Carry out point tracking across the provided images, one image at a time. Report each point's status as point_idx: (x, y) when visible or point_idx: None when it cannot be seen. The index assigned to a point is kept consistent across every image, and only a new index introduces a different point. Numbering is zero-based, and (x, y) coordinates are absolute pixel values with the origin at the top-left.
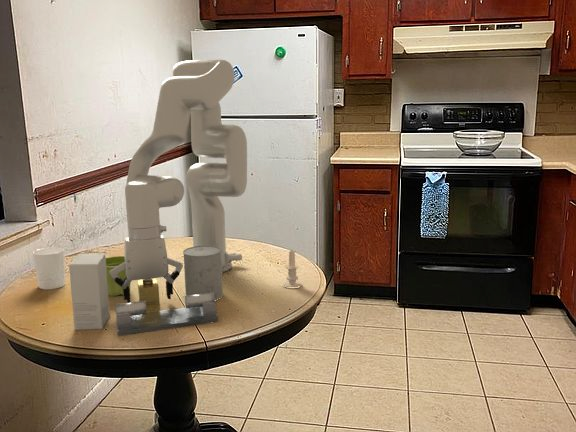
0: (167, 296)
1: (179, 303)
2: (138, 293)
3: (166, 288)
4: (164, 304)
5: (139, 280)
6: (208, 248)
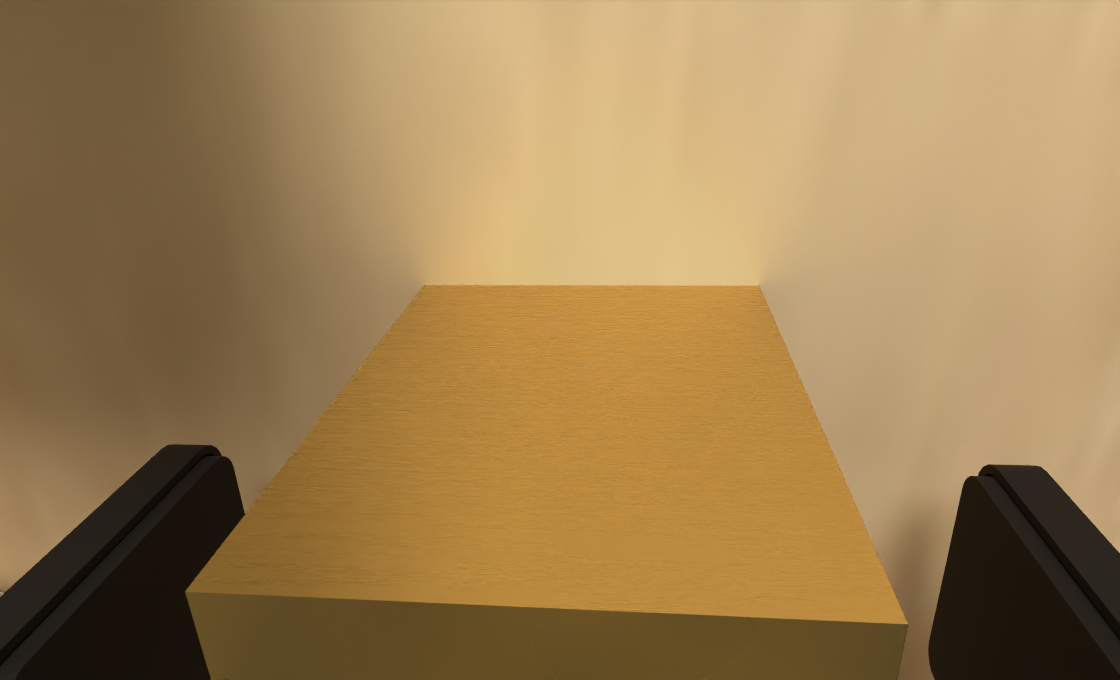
0: (948, 638)
1: None
2: (360, 368)
3: (1038, 673)
4: None
5: (254, 599)
6: None
